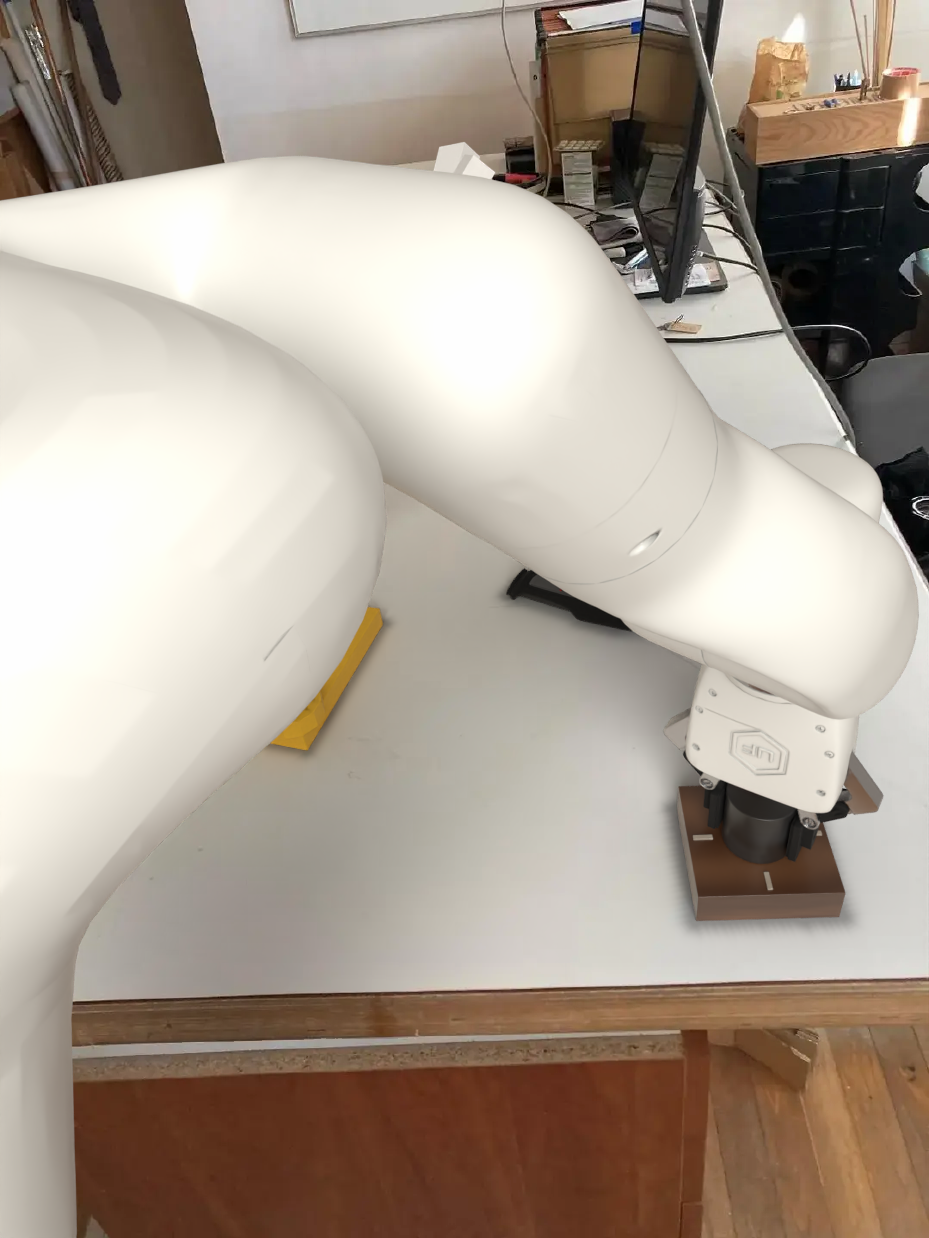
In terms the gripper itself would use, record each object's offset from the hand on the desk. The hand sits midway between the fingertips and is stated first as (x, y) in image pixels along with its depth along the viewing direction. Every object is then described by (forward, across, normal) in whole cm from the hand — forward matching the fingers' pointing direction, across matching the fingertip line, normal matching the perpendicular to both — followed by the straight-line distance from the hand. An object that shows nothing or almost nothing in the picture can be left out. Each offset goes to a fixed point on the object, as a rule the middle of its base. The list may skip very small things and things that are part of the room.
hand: (757, 828), depth 68 cm
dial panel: (+4, 0, 0) cm, 4 cm away
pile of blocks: (+4, -80, +73) cm, 109 cm away
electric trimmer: (+4, -26, +20) cm, 33 cm away
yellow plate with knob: (+4, -46, -1) cm, 47 cm away
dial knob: (+1, 0, 0) cm, 1 cm away
